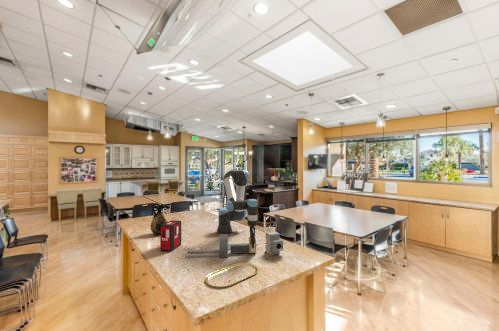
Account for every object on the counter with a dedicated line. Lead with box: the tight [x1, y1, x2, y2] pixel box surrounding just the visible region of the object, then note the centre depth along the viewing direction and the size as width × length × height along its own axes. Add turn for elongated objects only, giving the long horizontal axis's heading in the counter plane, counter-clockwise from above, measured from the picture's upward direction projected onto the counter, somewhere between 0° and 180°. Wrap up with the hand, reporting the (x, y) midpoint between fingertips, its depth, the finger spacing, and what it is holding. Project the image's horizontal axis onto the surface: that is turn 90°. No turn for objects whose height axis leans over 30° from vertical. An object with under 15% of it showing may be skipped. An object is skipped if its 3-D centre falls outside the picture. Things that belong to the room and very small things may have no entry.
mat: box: [228, 242, 249, 251], centre depth 186 cm, size 12×20×1 cm, turn 96°
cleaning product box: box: [159, 220, 182, 253], centre depth 183 cm, size 16×9×20 cm, turn 170°
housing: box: [185, 234, 229, 259], centre depth 170 cm, size 15×30×12 cm, turn 96°
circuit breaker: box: [264, 230, 284, 256], centre depth 171 cm, size 8×14×15 cm, turn 27°
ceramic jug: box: [149, 202, 168, 236], centre depth 219 cm, size 17×15×30 cm
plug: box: [230, 236, 259, 254], centre depth 173 cm, size 5×20×10 cm, turn 95°
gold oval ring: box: [204, 262, 259, 289], centre depth 138 cm, size 19×35×2 cm, turn 133°
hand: (252, 250), depth 173 cm, fingers closed on plug, 5 cm apart
